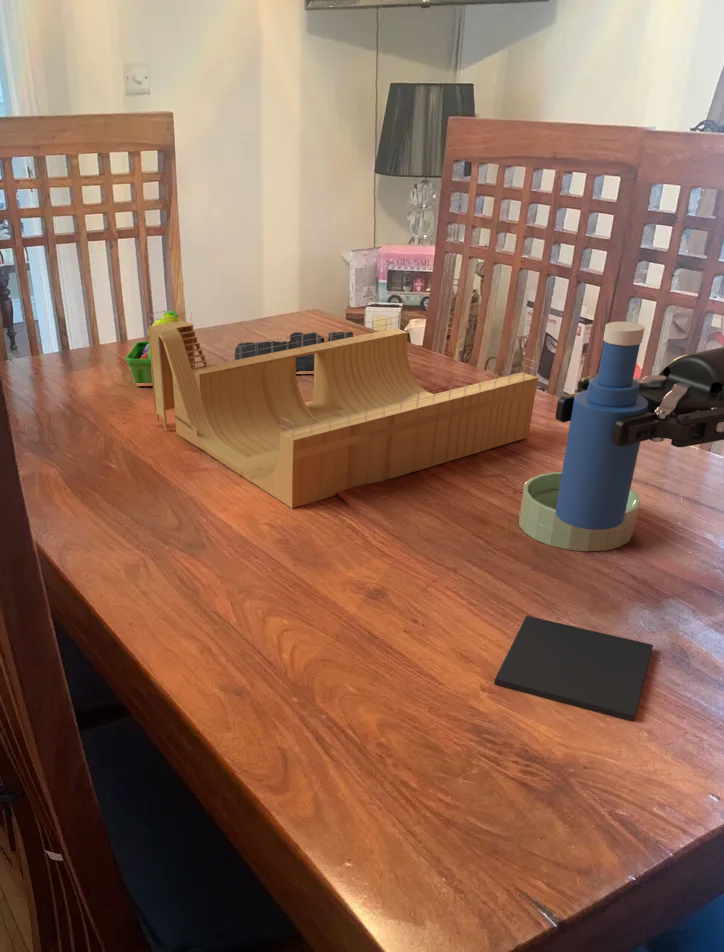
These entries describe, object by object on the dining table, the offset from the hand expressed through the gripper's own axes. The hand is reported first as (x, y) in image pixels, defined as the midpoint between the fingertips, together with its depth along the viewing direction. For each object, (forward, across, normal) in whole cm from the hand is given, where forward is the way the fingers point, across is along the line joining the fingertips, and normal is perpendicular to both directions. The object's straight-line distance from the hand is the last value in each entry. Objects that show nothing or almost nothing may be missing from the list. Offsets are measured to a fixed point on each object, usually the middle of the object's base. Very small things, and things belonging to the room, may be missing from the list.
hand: (587, 421), depth 74 cm
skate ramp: (-5, +50, -19) cm, 54 cm away
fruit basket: (+8, +87, -19) cm, 89 cm away
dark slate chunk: (-17, +84, -19) cm, 88 cm away
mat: (+6, -9, -18) cm, 21 cm away
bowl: (-12, +10, -18) cm, 24 cm away
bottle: (-2, 0, -10) cm, 10 cm away
